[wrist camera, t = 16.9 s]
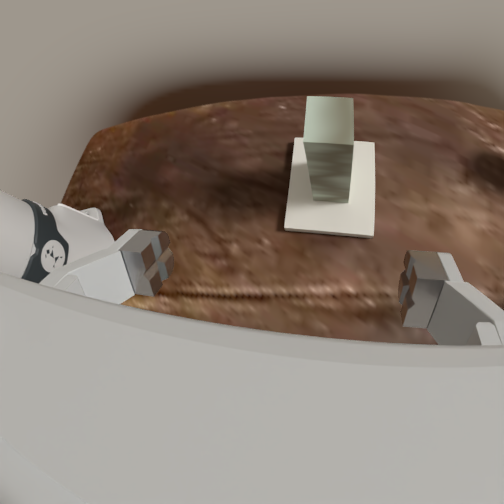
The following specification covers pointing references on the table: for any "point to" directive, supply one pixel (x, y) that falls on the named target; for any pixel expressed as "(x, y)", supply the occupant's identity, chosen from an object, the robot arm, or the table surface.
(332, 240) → the table surface
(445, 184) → the table surface
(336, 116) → the handle block
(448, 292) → the robot arm
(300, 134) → the table surface
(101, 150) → the table surface
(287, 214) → the ceramic tile
